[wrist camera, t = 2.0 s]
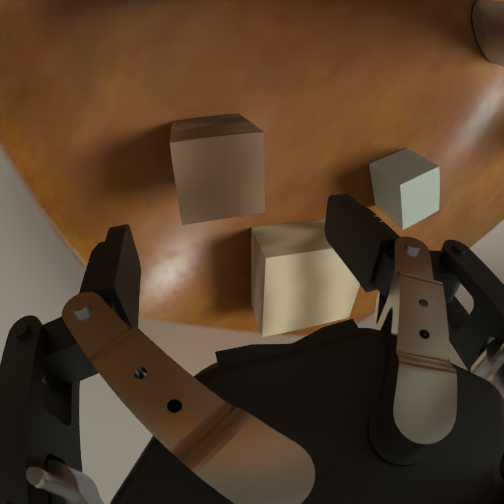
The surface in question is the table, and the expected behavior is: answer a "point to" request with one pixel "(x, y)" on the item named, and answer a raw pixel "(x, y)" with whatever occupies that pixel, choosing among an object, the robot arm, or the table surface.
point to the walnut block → (218, 167)
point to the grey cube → (405, 187)
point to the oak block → (297, 278)
